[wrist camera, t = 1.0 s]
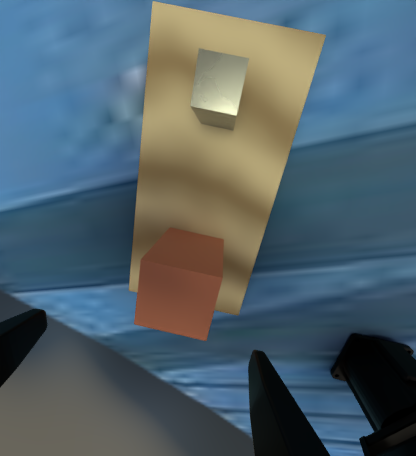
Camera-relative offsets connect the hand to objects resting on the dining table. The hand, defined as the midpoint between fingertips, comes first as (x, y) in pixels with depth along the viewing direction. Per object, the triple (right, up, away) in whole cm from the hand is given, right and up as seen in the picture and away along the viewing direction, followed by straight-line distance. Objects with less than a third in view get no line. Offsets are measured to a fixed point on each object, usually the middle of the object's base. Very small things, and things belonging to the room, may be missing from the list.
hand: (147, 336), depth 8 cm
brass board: (+2, +8, +10) cm, 13 cm away
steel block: (+4, +14, +7) cm, 16 cm away
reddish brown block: (+1, +2, +11) cm, 11 cm away
